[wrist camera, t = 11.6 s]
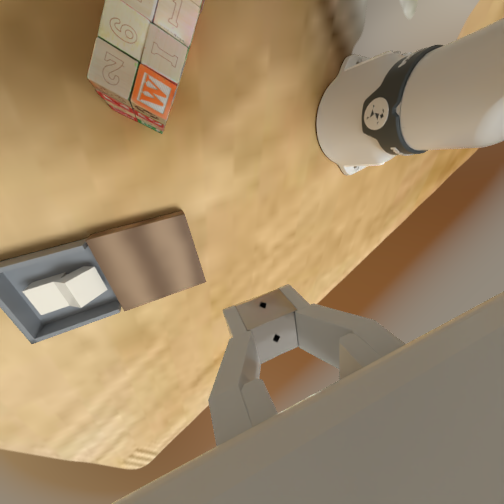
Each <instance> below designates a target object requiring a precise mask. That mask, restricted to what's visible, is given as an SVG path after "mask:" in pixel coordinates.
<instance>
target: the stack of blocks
mask: <svg viewBox="0 0 504 504" xmlns="http://www.w3.org/2000/svg"><path fill="white" fill-rule="evenodd" d="M204 2H205V0H105V3H104V8H103V12H102V17H101V21H100V25H99V29H98V37H97V38H96V39H95V43H94V48H93V52H92V56H91V60H90V64H89V68H88V72H87V78H88V80H89V81H90V82H91V83H92V85H93V86H94V87H95V88H96V91H97V93H98V94H99V95H100V96H101V97H102V98H103V99H104V100H105V101H106V102H107V103H108V105H109V106H110V107H111V108H112V109H113V110H115V111H117V112H119V113H121V114H123V115H125V116H127V117H129V118H131V119H133V120H135V121H137V122H139V123H141V124H143V125H145V126H147V127H149V128H151V129H153V130H155V131H157V132H159V133H161V134H162V133H163V131H164V128H165V125H166V122H167V119H168V116H169V113H170V110H171V107H172V105H173V102H174V98H175V95H176V92H177V89H178V86H179V83H180V79H181V76H182V73H183V70H184V67H185V63H186V59H187V55H188V52H189V49H190V46H191V42H192V39H193V36H194V32H195V27H196V24H197V21H198V17H199V14H200V13H201V12H202V9H203V5H204Z"/></svg>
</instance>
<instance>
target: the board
mask: <svg viewBox="0 0 504 504" xmlns="http://www.w3.org/2000/svg"><path fill="white" fill-rule="evenodd" d="M85 241H86V243H87V244H88V246H89V248H90V250H91V252H92V254H93V255H94V257H95V259H96V261H97V263H98V264H99V266H100V268H101V270H102V272H103V273H104V275H105V277H106V279H107V281H108V283H109V284H110V286H111V288H112V290H113V292H114V293H115V295H116V297H117V299H118V301H119V303H120V304H121V306H122V308H123V310H124V311H127V310H130V309H133V308H135V307H138V306H141V305H144V304H146V303H149V302H152V301H155V300H157V299H160V298H163V297H166V296H169V295H171V294H174V293H177V292H180V291H182V290H185V289H188V288H191V287H193V286H196V285H199V284H202V283H205V282H206V280H205V277H204V274H203V271H202V267H201V264H200V261H199V258H198V255H197V252H196V249H195V245H194V242H193V239H192V236H191V233H190V230H189V227H188V223H187V220H186V217H185V214H184V212H183V211H178V212H175V213H171V214H167V215H163V216H159V217H155V218H152V219H148V220H144V221H140V222H136V223H132V224H129V225H125V226H121V227H117V228H113V229H109V230H106V231H102V232H98V233H94V234H91V235H90V236H89V237H88V238H87V239H86V240H85Z"/></svg>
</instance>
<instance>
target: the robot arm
mask: <svg viewBox="0 0 504 504" xmlns="http://www.w3.org/2000/svg"><path fill="white" fill-rule="evenodd" d="M317 136H318V140H319V144H320V146H321V148H322V150H323V152H324V153H325V155H326V156H327V157H328V158H329V159H330V160H332V161H333V162H335V163H336V164H338V165H339V167H340V169H341V171H342V172H343V173H344V174H345V175H352V174H354V173H356V172H358V171H359V170H361V169H363V168H365V167H367V166H376V165H383V164H384V163H385V162H386V161H388V160H390V159H392V158H393V157H395V156H396V155H413V154H420V153H424V152H426V151H428V150H440V149H460V148H479V147H486V146H490V145H493V144H496V143H499V142H501V141H504V18H502V19H500V20H498V21H496V22H494V23H492V24H490V25H488V26H486V27H484V28H482V29H480V30H478V31H476V32H474V33H471V34H469V35H467V36H465V37H463V38H460V39H458V40H456V41H454V42H451V43H449V44H447V45H444V46H443V45H435V46H431V47H429V48H424V49H421V50H418V51H416V52H414V53H404V54H401V52H400V51H395V52H393V51H388V52H385V53H383V54H380V55H378V56H376V57H373V58H367V57H363V56H359V55H350V56H348V57H346V58H345V60H344V62H343V64H342V66H341V69H340V71H339V74H338V76H337V77H336V78H335V80H334V81H333V82H332V83H331V84H330V85H329V87H328V88H327V89H326V91H325V93H324V95H323V97H322V99H321V102H320V105H319V109H318V114H317ZM223 313H224V317H225V320H226V323H227V326H228V330H229V333H230V336H231V339H229V342H228V345H227V348H226V351H225V354H224V357H223V360H222V362H221V365H220V368H219V371H218V374H217V377H216V380H215V383H214V385H213V388H212V391H211V394H210V397H209V400H208V401H209V406H210V412H211V417H212V423H213V429H214V434H215V439H216V445H217V447H215V448H213V449H212V450H210V451H208V452H206V453H204V454H202V455H200V456H198V457H197V458H195V459H193V460H191V461H189V462H187V463H185V464H184V465H182V466H180V467H178V468H176V469H174V470H173V471H171V472H169V473H167V474H165V475H163V476H161V477H160V478H158V479H156V480H154V481H152V482H150V483H149V484H147V485H145V486H143V487H141V488H139V489H138V490H136V491H134V492H132V493H130V494H128V495H126V496H125V497H123V498H121V499H119V500H117V501H115V502H114V503H111V504H504V291H503V292H502V293H500V294H498V295H496V296H494V297H492V298H491V299H489V300H487V301H485V302H483V303H481V304H480V305H478V306H476V307H474V308H472V309H470V310H468V311H466V312H465V313H463V314H461V315H459V316H457V317H455V318H454V319H452V320H450V321H448V322H446V323H444V324H442V325H441V326H439V327H437V328H435V329H433V330H431V331H429V332H428V333H426V334H424V335H422V336H420V337H418V338H417V339H415V340H413V341H411V342H409V343H407V344H405V343H404V342H402V341H401V340H400V339H398V338H397V337H396V336H394V335H393V334H392V333H391V332H389V331H388V330H387V329H385V328H384V327H383V326H381V325H380V324H379V323H377V322H376V321H375V320H372V319H368V318H364V317H361V316H357V315H353V314H350V313H346V312H342V311H339V310H335V309H331V308H328V307H324V306H320V305H317V304H311V305H310V304H309V303H308V302H307V301H306V300H305V299H304V298H303V297H302V296H301V295H300V294H299V293H298V292H297V291H296V290H295V289H294V288H293V287H291V286H290V285H289V284H287V285H285V286H282V287H280V288H278V289H276V290H273V291H271V292H268V293H266V294H263V295H261V296H258V297H255V298H252V299H250V300H247V301H244V302H241V303H239V304H236V305H235V306H234V305H233V306H231V307H228V308H225V309H223ZM298 346H299V348H301V349H303V350H305V351H307V352H308V353H310V354H313V355H314V356H316V357H318V358H320V359H321V360H323V361H325V362H327V363H329V364H331V365H333V366H335V367H336V368H338V369H339V381H337V382H335V383H334V384H332V385H330V386H328V387H326V388H324V389H323V390H320V391H319V392H317V393H315V394H313V395H311V396H309V397H308V398H306V399H304V400H302V401H300V402H298V403H297V404H295V405H293V406H291V407H289V408H287V409H285V410H284V411H282V412H280V413H277V411H276V408H275V406H274V404H273V402H272V400H271V397H270V395H269V393H268V391H267V389H266V387H265V385H264V382H263V380H261V379H259V375H260V367H261V365H260V364H262V363H264V362H266V361H268V360H270V359H272V358H274V357H276V356H278V355H280V354H282V353H285V352H287V351H289V350H292V349H294V348H296V347H298Z"/></svg>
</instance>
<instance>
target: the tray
mask: <svg viewBox="0 0 504 504" xmlns="http://www.w3.org/2000/svg"><path fill="white" fill-rule="evenodd" d="M86 239H87V238H86ZM86 239H82V240H79V241H75V242H71V243H67V244H64V245H60V246H56V247H52V248H48V249H45V250H41V251H37V252H33V253H29V254H26V255H22V256H18V257H14V258H11V259H7V260H3V261H0V307H1V309H2V310H3V311H4V312H5V313H6V314H7V316H8V317H9V318H10V319H11V320H12V321H13V323H14V324H15V325H16V326H17V327H18V328H19V330H20V331H21V332H22V333H23V334H24V335H25V337H26V338H27V339H28V340H29V341H30V342H31V344H34V343H36V342H39V341H42V340H45V339H47V338H50V337H53V336H56V335H59V334H61V333H64V332H67V331H70V330H72V329H75V328H78V327H81V326H83V325H86V324H89V323H92V322H95V321H97V320H100V319H103V318H106V317H108V316H111V315H114V314H117V313H120V310H121V304H120V303H119V301H118V299H117V297H116V295H115V293H114V292H113V290H112V288H111V286H110V284H109V283H108V281H107V279H106V277H105V275H104V273H103V272H102V270H101V268H100V266H99V264H98V263H97V261H96V259H95V257H94V255H93V254H92V252H91V250H90V248H89V246H88V244H87V243H86V241H85V240H86ZM82 266H94V267H95V268H96V270H97V272H98V274H99V275H100V277H101V279H102V281H103V282H104V284H105V286H106V288H107V289H108V290H106V291H105V292H103V293H102V294H101V295H99V296H98V297H96V298H95V299H93V300H92V301H90V302H89V303H87V304H86V305H85V306H83V307H82V308H79V307H73V306H67V307H64V308H61V309H58V310H55V311H52V312H49V313H46V314H44V315H41V314H40V313H39V312H38V311H37V309H36V308H35V307H34V306H33V304H32V303H31V302H30V301H29V299H28V298H27V297H26V296H25V294H24V293H23V292H22V291H23V290H24V289H25V288H26V287H28V286H29V285H30V284H31V283H32V282H35V281H38V280H41V279H45V278H48V277H51V276H54V275H58V274H61V273H64V272H65V273H66V275H67V274H69V273H71V272H73V271H75V270H77V269H79V268H81V267H82Z"/></svg>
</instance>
